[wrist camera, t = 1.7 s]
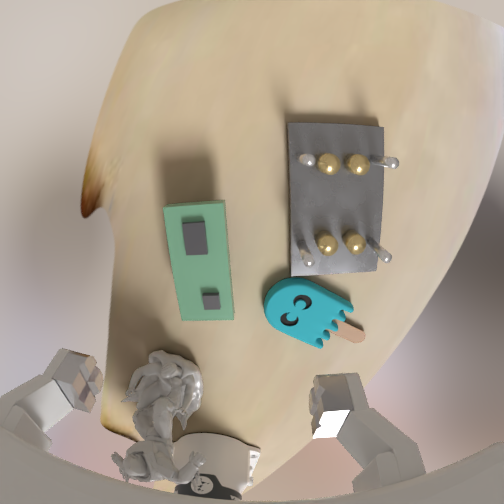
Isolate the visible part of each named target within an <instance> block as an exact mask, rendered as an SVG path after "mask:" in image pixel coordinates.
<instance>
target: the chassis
mask: <svg viewBox="0 0 504 504" xmlns="http://www.w3.org/2000/svg"><path fill="white" fill-rule="evenodd" d="M287 134H288V159H289V193H290V273H291V276H305V275H323V274H339V273H355V272H369V271H376V269H377V261H378V256H379V257H380V258H381V260H382V261H383V262H385V263H389V262H390V261H391V259H392V255H391V254H390V253H389V252H388V251H387V250H385V249H384V248H383V247H382V246H381V245H380V244H379V243H380V233H381V221H382V206H383V185H384V166H385V167H389V168H393V169H396V168H397V167H398V166H399V161H398V159H397V158H394V157H387V156H384V127H376V126H365V125H352V124H334V123H287Z"/></svg>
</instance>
